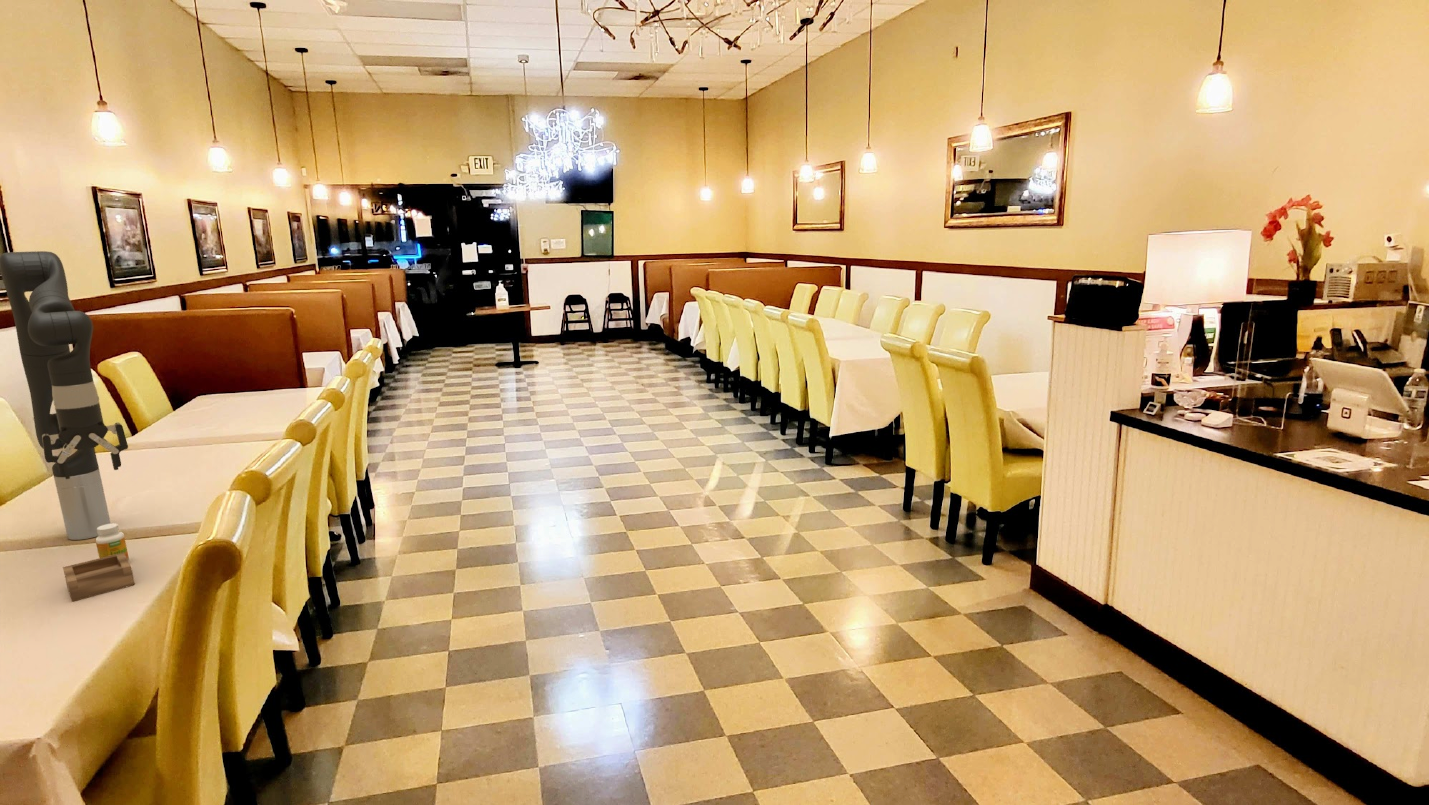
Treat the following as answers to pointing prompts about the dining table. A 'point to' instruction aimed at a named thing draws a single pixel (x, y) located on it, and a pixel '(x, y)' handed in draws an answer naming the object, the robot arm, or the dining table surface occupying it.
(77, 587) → the wooden open box
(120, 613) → the dining table surface
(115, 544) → the supplement bottle
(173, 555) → the dining table surface
